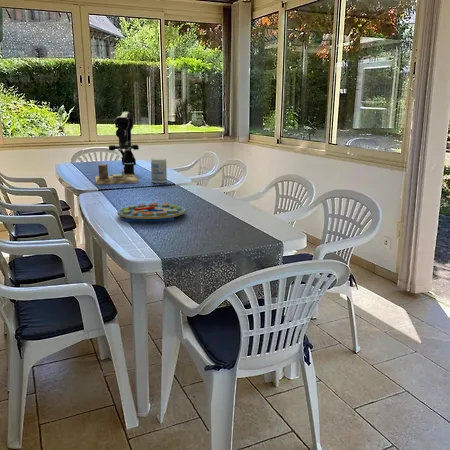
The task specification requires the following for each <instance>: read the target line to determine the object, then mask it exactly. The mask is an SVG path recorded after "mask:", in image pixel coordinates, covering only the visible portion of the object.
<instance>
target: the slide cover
mask: <svg viewBox="0 0 450 450" xmlns="http://www.w3.org/2000/svg"><path fill="white" fill-rule="evenodd" d="M124 174H125V173H124V169H122V170H121V173H113V174H112V175H113V176H125V175H124Z"/></svg>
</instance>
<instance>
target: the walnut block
mask: <svg viewBox="0 0 450 450" xmlns="http://www.w3.org/2000/svg"><path fill="white" fill-rule="evenodd" d="M97 167H98V168H97V169H98V176H99V179H108V176H109V172H108V171H109V170H108V163H107V164H105V163H103V164H102V163H100V164H98V166H97Z"/></svg>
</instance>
